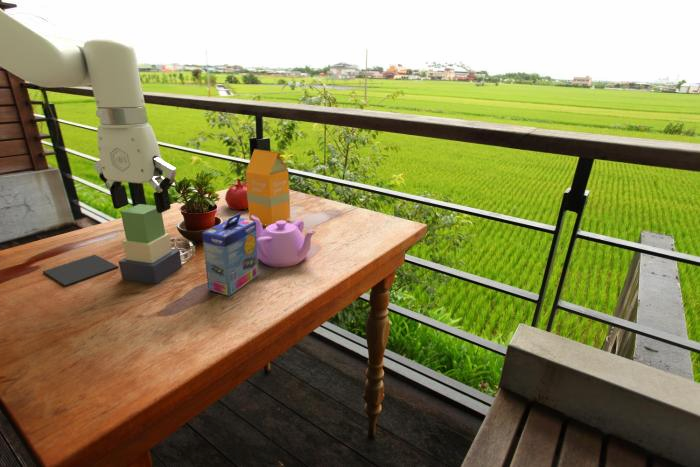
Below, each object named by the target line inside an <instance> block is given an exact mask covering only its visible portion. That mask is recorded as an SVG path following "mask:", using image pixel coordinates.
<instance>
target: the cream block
mask: <svg viewBox="0 0 700 467" xmlns="http://www.w3.org/2000/svg"><path fill="white" fill-rule="evenodd" d="M122 246H123V250H124V256H125V258H126V260H132V261H139V262H146V263H154V262H155V261H157V260H159V259H160V258H162V257H163V256H165V255H167V254H168V253H170V252H172V249H173V248H172V242H171V235H170V233H168V232H165V235H163V236H161V237H159V238H157V239H155V240H153V241H152V242H150V243H142V242H135V241H127V240H126V239H124V240H122Z"/></svg>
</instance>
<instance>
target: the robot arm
mask: <svg viewBox="0 0 700 467" xmlns="http://www.w3.org/2000/svg"><path fill="white" fill-rule="evenodd" d="M0 67H1V68H2V69H3V70H5V71H7V72H9V73H11V74H12V75H14V76H16V77H18V78H19V79H21V80H23V81H25V82H28V83H29V84H32V85H36V86H37V87H42V88H48V89H50V88H80V87H81V88H82V87H89V86H91V88H92V93H93V97H94V102H95V106H96V111H95V115H96V117H97V118H98V119H99V123H100V125H97V136H96V137H97V147H98V149H97V150H98V155H99V160H97V162H96V161H95V163H93V168H94V170H95V172H96V173H97V174H98V176H99V179H100V180H101V181H102V182H103V183H104V185H105V188H106V189H108V190H109V193H110V198H111V202H112V208H113V209H115V210H118V209H121V208H124V207H126V206H128V205H129V199H128V193H127V189H126V186H125V184H123V183H130V184H131V183H132V184H146V183H148V184H149V185H150V186H151V188H152V189H153V190H154V191H155V192H153V198H154V199H153V200H154V204H155V205H154V206H156V210H157V212H158V213H162V214H163V213H165V212H166V211H168V210H169V211H170V210H171V208H172V206H171V199H170V194H169V190H170V189H171V188H172V187H171V186H172V185H173V184H174V182H175V178H176V175H177V172H178V170H177V168H176V167H175V166H173V165H172V164H170V163H168V162H166V161H165V160H163V159H162V154H161V151H160V146H159V143H158V140H157V137H156V135H155V131H154V129H153V127H152V125H151V124H150V123H149V118H148V113H147V108H146V102H145V97H144V92H143V86H142V80H141V75H140V69H139V65H138V59H137V53H136V50H135V48H134V46H133V45H132V44H131V43H130V42H127V41H124V40H119V39H90V40H87V41H86V42H85V41H78V40H75V39H74V40H73V39H68V38H62V37H56V36H50V35H44V34H41V33H40V32H37V31H35V30H34V29H33V28H31V27H29V26H27V25H26V24H25V23H23V22H22V21H20V20H18V19H17V18H15V17H13V16H12V15H11V14H9V13H8V12H6V11H5V10H3V9H2V8H1V7H0Z"/></svg>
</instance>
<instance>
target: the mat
mask: <svg viewBox="0 0 700 467" xmlns="http://www.w3.org/2000/svg"><path fill="white" fill-rule="evenodd" d="M116 269H119V265H117V264H114V263H112V262H111V261H109V260H107V259H105V258H103V257H101V256H99V255H97V254H92V255H89V256H85V257H83V258H79V259H76V260H73V261H70V262H67V263H64V264H60V265H58V266H55V267H51V268H48V269H45V270H43V271H42V273H43V274H44V275H46V276H48V277H49V278H51V279H52V280H54V281H55V282H57V283H59V284H60V285H62V286H63V287H66V288H67V287H69V286H72V285H75V284H78V283H81V282H83V281H86V280H88V279H92V278H94V277H97V276H99V275H102V274H105V273H108V272H111V271H113V270H116Z"/></svg>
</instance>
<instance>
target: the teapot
mask: <svg viewBox="0 0 700 467" xmlns="http://www.w3.org/2000/svg"><path fill="white" fill-rule="evenodd" d="M251 217H252V218H253V220H254V221H256V237H257V259H258V260H259V261H260V262H262V263H263V264H264V265H265V266H266V265H267V266H268V267H273V268H288V267H293V266H296V265H297V264H299V263H301V262H302V261H303V260H304V259H305V258H306V257H307V255H308V253H309V252H310V251H311V247H312V246H311V245H312V244H311V243H312V241H311V240H312V236H313V235H314V234H315V233H317V230H316V231H315V230H312V231H310V230H309V231H307V232H306V234H305V235H303V232H304V226H305V223H304V220H303V219H297V220H295V221H294V222H293V223H291V222H286V221H283V220H280V221H276V223H275V224H271V225H269V226H265V228H263V225H261V222H260V220H259V219H258V218H257V217H256V216H254V215H251Z"/></svg>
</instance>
